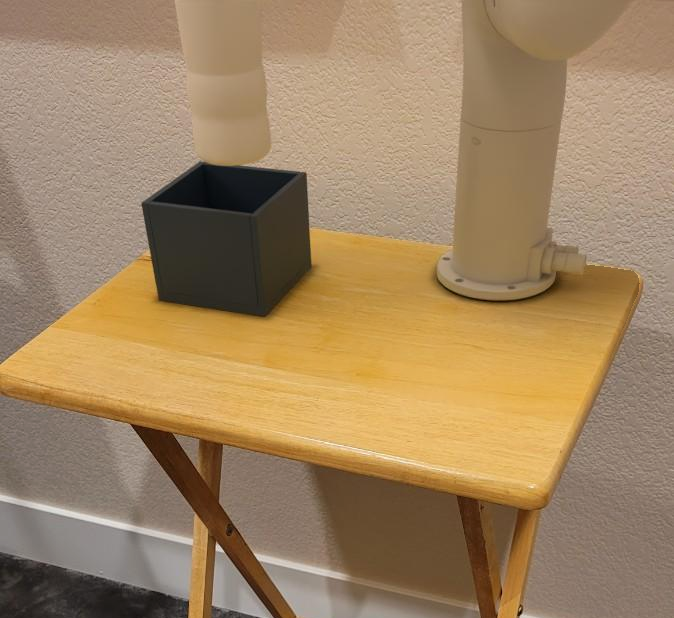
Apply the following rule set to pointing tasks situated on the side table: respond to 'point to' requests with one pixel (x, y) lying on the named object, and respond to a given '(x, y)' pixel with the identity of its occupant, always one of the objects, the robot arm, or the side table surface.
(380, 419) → the side table surface
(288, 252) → the bin
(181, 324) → the side table surface
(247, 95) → the water bottle
